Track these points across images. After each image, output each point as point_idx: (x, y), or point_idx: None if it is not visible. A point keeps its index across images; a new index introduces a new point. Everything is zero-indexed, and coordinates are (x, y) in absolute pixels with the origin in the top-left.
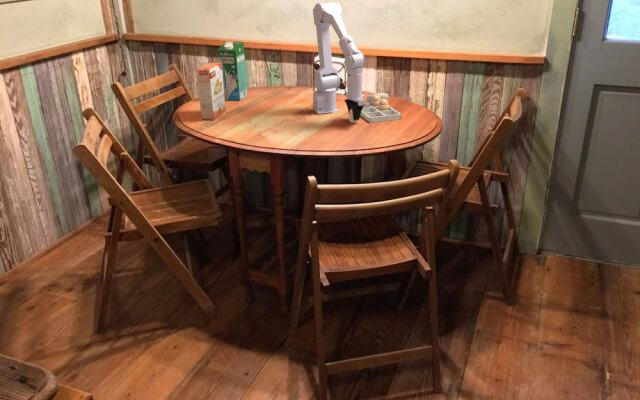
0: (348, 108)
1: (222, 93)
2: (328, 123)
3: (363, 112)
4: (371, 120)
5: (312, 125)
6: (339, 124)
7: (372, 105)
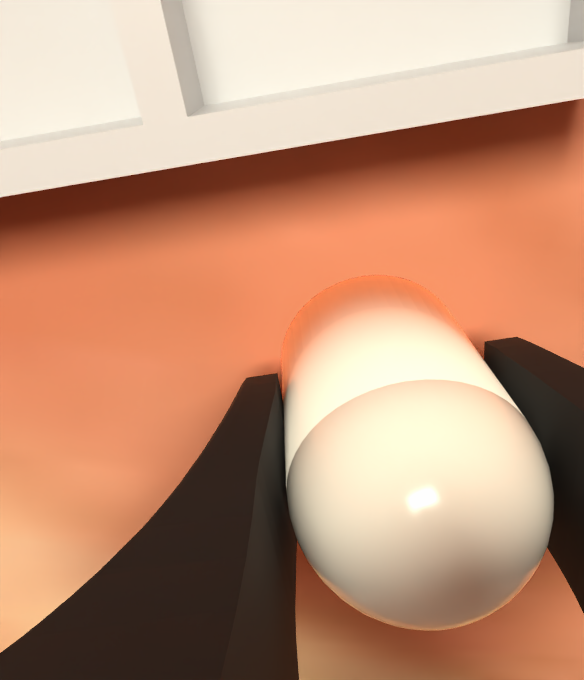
0: (296, 650)
1: None
2: (322, 637)
3: (117, 157)
4: None
5: None
6: None
7: None
